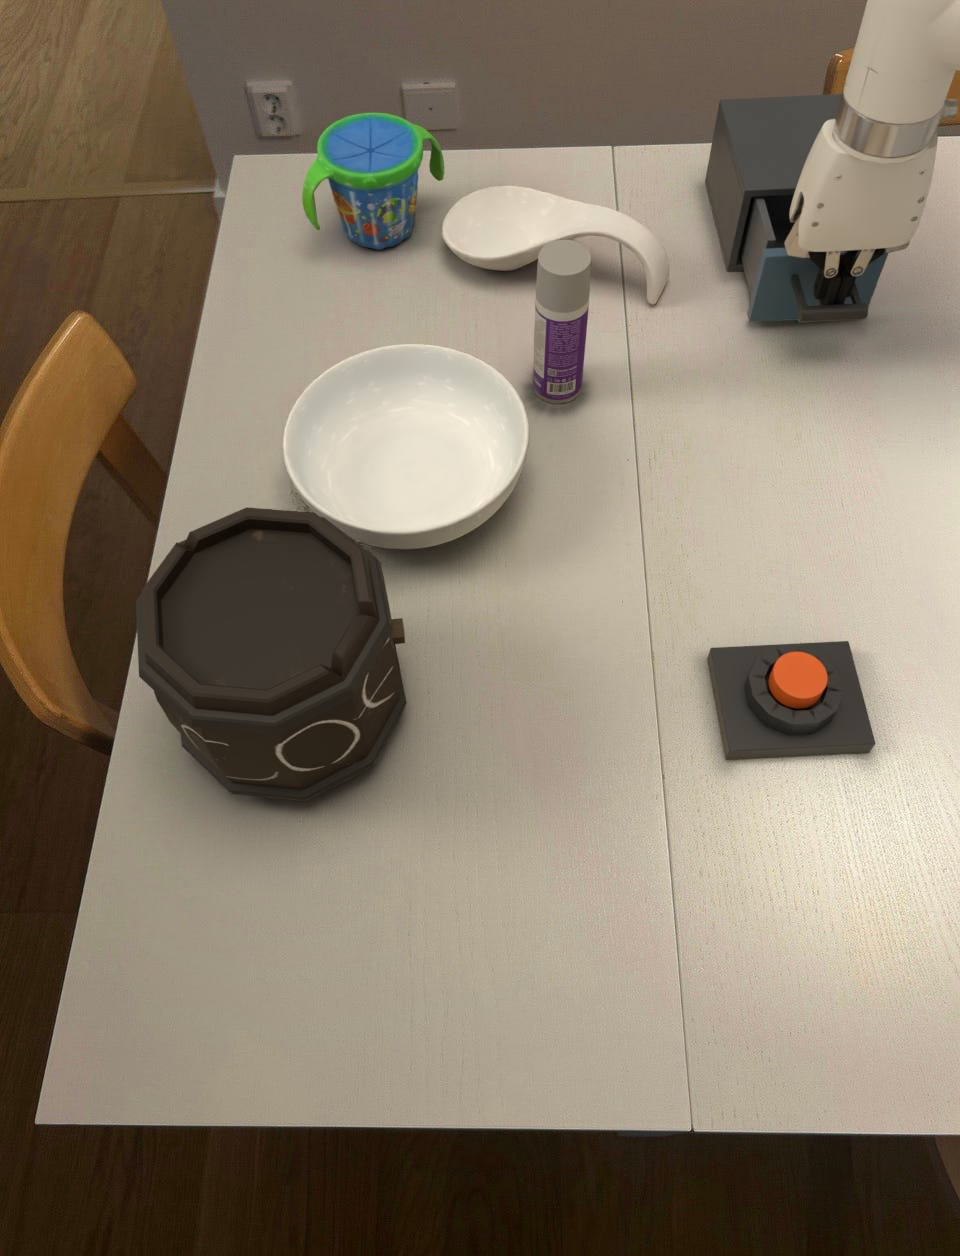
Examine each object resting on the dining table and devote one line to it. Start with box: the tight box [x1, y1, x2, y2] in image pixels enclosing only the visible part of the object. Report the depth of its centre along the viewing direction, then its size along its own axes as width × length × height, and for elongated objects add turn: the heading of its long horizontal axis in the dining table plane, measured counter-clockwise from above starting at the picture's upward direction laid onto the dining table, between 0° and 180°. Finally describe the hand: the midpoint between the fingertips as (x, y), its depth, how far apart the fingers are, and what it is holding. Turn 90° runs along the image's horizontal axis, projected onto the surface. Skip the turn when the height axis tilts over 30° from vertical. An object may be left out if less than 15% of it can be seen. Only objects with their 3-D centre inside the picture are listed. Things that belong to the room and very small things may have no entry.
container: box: [532, 240, 592, 405], centre depth 95 cm, size 5×5×15 cm
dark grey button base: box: [706, 640, 876, 761], centre depth 82 cm, size 11×9×4 cm
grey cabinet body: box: [704, 93, 842, 272], centre depth 109 cm, size 15×13×10 cm
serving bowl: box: [282, 343, 530, 550], centre depth 92 cm, size 21×21×7 cm
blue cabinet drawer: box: [739, 195, 889, 323], centre depth 103 cm, size 19×11×8 cm, turn 3°
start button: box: [769, 652, 828, 709], centre depth 80 cm, size 4×4×2 cm
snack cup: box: [301, 112, 446, 251], centre depth 109 cm, size 16×10×10 cm
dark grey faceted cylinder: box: [135, 507, 407, 802], centre depth 77 cm, size 18×18×16 cm
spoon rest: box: [441, 185, 670, 305], centre depth 107 cm, size 24×12×7 cm, turn 68°
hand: (828, 301), depth 99 cm, fingers closed
